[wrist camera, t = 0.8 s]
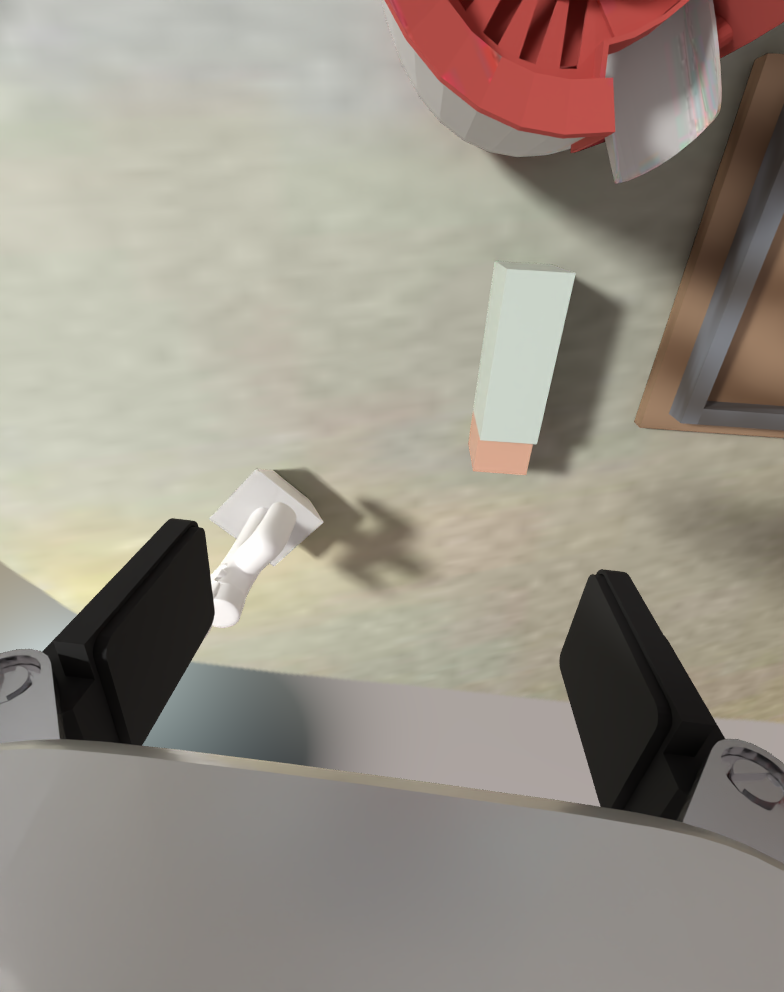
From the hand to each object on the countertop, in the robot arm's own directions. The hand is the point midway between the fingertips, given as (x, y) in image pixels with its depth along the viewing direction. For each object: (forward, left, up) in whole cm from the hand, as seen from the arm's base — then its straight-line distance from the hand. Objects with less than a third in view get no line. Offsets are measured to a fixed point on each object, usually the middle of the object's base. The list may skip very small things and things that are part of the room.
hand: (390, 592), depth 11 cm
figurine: (+15, -12, -29) cm, 35 cm away
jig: (-6, +25, -28) cm, 38 cm away
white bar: (+1, +7, -28) cm, 29 cm away
